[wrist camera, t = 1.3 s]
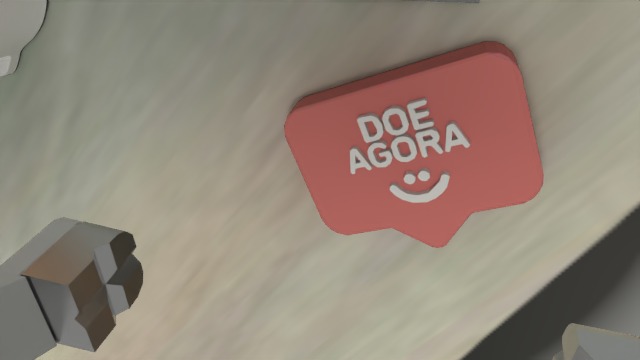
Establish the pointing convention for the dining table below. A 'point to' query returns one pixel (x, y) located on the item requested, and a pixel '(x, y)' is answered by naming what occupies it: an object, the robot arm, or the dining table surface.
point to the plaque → (419, 145)
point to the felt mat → (466, 0)
